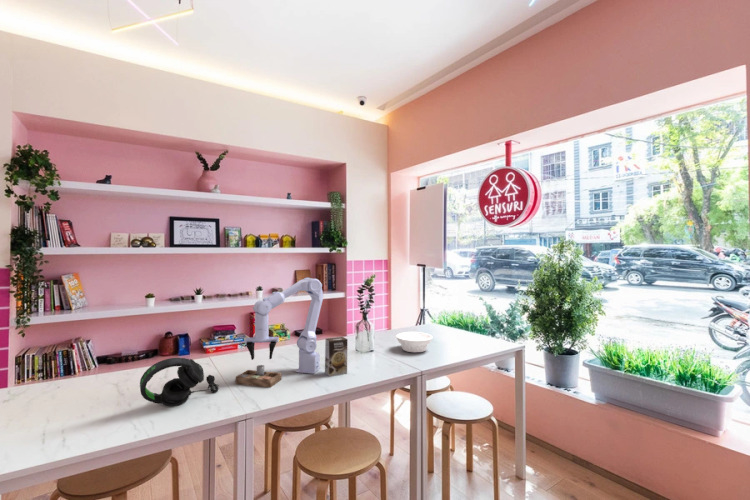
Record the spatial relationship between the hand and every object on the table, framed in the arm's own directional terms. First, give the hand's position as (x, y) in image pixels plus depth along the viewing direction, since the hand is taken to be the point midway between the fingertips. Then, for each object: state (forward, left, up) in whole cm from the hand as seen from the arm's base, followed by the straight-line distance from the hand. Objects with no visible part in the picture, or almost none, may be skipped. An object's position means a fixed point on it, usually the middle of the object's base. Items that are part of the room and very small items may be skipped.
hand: (261, 358), depth 153 cm
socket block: (0, +2, -9) cm, 10 cm away
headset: (+18, +27, -10) cm, 33 cm away
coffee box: (-29, -16, -10) cm, 35 cm away
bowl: (-60, -63, -10) cm, 88 cm away
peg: (0, +1, -9) cm, 9 cm away
